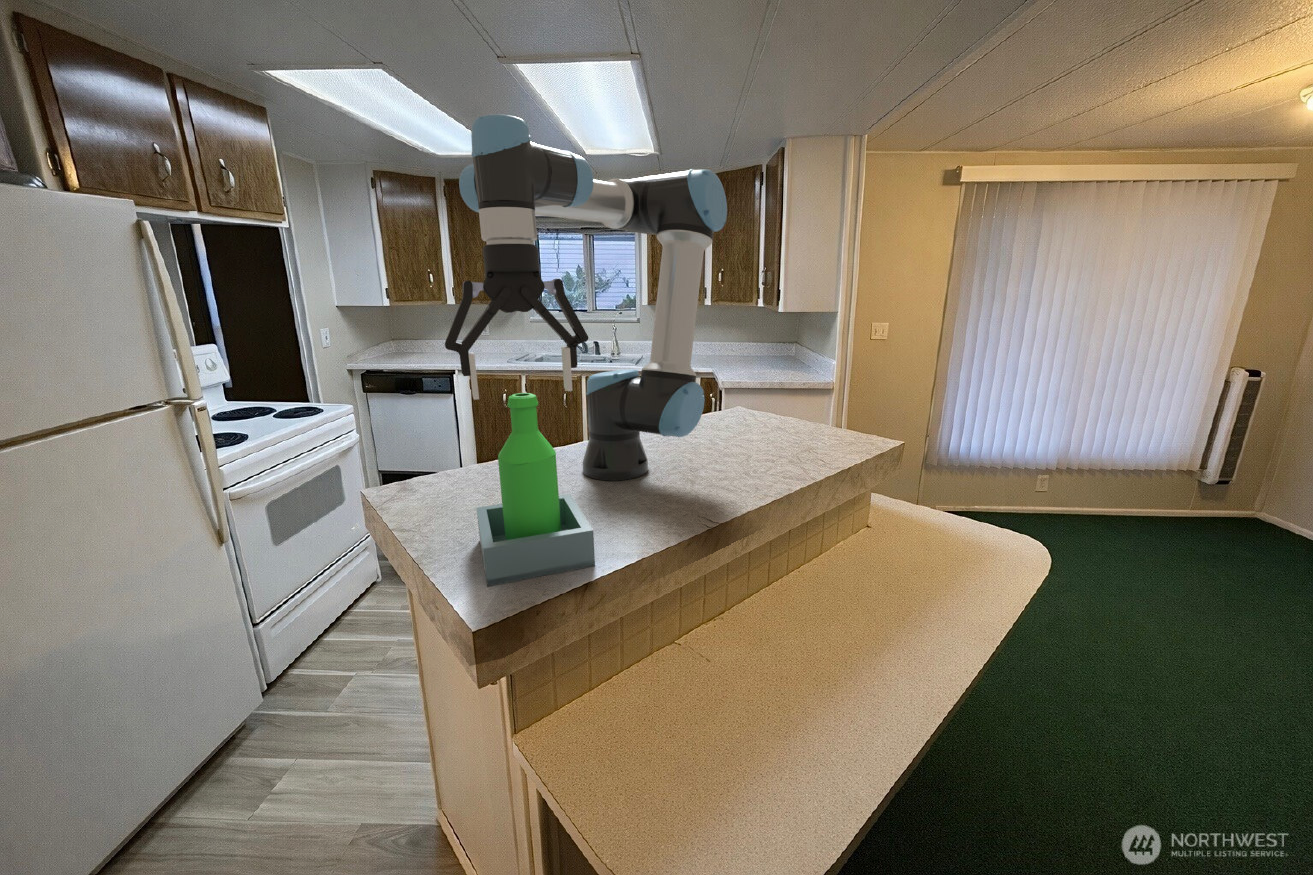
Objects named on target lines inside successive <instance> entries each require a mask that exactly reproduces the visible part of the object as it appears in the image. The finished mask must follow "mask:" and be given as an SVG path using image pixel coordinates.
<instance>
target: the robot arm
mask: <svg viewBox="0 0 1313 875" xmlns="http://www.w3.org/2000/svg"><path fill="white" fill-rule="evenodd" d="M470 131H471V135H470V136H471V157H472V164H469V165H467V166H466V167H464V168H463V170H462V171H461V172H460V175H459V180H458V184H459V185H458V186H459V188H458V189H459V194H460V196H461V198H462V200H463V202H464V203H465V205H466V206H467V207H468V208H469V209H470V210H472V211H474V212H475V213H478V215H479V216H478V217H479V226H480V236H481V240H482V241H483V242H486V245H485V244H484V245H483V247H482V256H483V266H484V267H483V268H484V276H485V277H484V281H483V282H475V281H471V280H465V281H463V282H462V298H461V300H460V303H459V305H458V307H457V310H456V313H455V315H454V318H453V321H452V323H451V326H450V328H449V331H448V334H447V336H446V338H445V341H444V347H445V349H447V350H448V351H453V352H456V353H457V354H458V355H459V360H460V362H459V363H460V368H461V370H460V371H461V373H462V376H463V377H470V383H471V394H472V398H473V400H475V401H476V400H480V395H479V394H480V393H479V392H480V391H479V384H478V377H477V376H478V374H477V367H476V358H475V357H476V356H475V353H474V351H470V350H471V348H472V347H473V345H474V344H475V343H476V341H477V340H478V338H480V336H481V335H482V333H483V332H484V330H485V329H486V328H487V326H488V325H489V324H490V322H492V320H493V318H494V317H495V316H496V315H497V313H498V312H499V311H501V312H502V313H503V312H504V313H509V314H510V313H515V312H521V313H528V312H530V311H531V310H532V309H533V311H534V312H536V314H538V315H539V317H541V319H542V320H544V322H545V323H546V324H547V325H548V326H549V327H550V328H551V329H552V330H553V331H554V332H555V334H557V336H559V338H560V339H562V341H563V342H564V343H565V344H566V345H562V346H560V349H561V362H562V363H561V364H562V365H561V366H562V377H563V378H562V379H563V389H565V391H566V392H573V378H572V377H573V376H572V369H575V368H578V351H577V350H578V349H577V348H578V346H579V345H580V344H582V343H587V341H588V340H589V335H588V334H587V332H586V330H585V328H584V326H583V325H582V323H581V320H580V319H579V318H578V315H577V314H576V311H575V310H574V308H573V306H572V304H571V302H570V301H569V299H568V297H567V295H566V292H565V287H564V281H563V280H562V279H561V278H553V279H552V280H545V281H543V280H542V277H541V271H540V257H539V247H537V245H536V244H534V242H536V241H537V240H538V232H537V221H536V216H543V217H549V218H550V217H553V218H559V219H569V220H578V221H579V220H580V221H588V222H597V223H602V224H603V225H604V226H605V227H606V228H609V229H614V230H620V231H621V230H622V231H627V232H632V233H636V234H637V233H638V234H643V235H656V239H657V241H658V242H659V243H660V245H661V246H662V250H661V259H660V268H659V276H658V283H657V284H658V287H657V295H656V304H655V314H654V322H653V330H652V332H653V333H652V338H651V339H652V340H651V348H650V349H651V350H650V357H649V362H648V363H647V364H646V365H645V366H643V367H642V368H641V374H640V373H639V370H637V369H634V368H631V369H630V368H627V369H619V370H618V369H616V370H611V371H604V372H598V373H594V374H591V375H589V377H588V379H587V380H586V392H585V396H586V408H587V409H586V410H587V424H588V442H587V446H586V448H585V452H584V456H583V459H582V472H583V474H584V475H585V476H586V477H589V478H591V479H595V480H599V481H623V480H630V479H635V478H638V477H641V476H644V475H645V474H646V473H647V472H648V470H649V460H648V457H647V454H646V452H645V449H644V445H643V442H642V439H641V435H640V432H642V433H647V434H652V435H653V434H654V435H659V436H662V437H664V438H665V437H675V438H683V437H685V436H688V435H689V434H690V433H692V432H693V431H694V430H695V428H696V427H697V425H698V423H699V422H700V420H701V418H702V414H703V411H704V408H705V407H704V406H705V401H706V400H705V395H704V393H705V390H704V389H703V387H702V386H701V385H700V384H699V383H698V382H697V373H696V371H694V369H693V368H692V366H691V362H692V357H693V356H692V355H693V347H694V346H693V345H694V338H695V329H696V320H697V312H698V305H699V304H698V303H699V296H700V288H701V287H700V286H701V277H702V270H703V269H702V268H703V263H704V261H703V260H704V253H705V250H706V249H708V248H709V247H711V245H712V244H713V239H714V232H719V231H720V230H722V229H723V228H724V226H725V225H726V222H727V218H728V205H727V204H728V202H727V196H726V193H725V190H724V186H723V184H722V181H721V180H720V178H719V176H718V175H717V174H716V173H715V172H714V171H712V170H711V169H694V168H691V169H689V170H684V171H677V172H671V173H664V174H657V175H648V176H643V177H637V178H631V179H621V178H612V179H611V178H610V179H609V180H607V181H603V180H598V179H594V172H593V170H592V167H591V164H590V163H589V162H588V161H587V160H586V159H585V157H582V156H580V155H578V154H575V153H573V152H571V151H569V150H567V149H566V150H563V149H562V150H561V149H558V148H553V147H550V146H545V145H541V144H537V143H535V142H532V136H531V134H530V130H529V124H528V123H527V122H526V121H525V120H524V119H522V118H520V117H517V116H514V115H511V114H510V115H509V114H500V113H499V114H498V113H497V114H486V115H485V114H484V115H482V116H478V117H477V118H475V119H474V120H473V122H472V124H471V130H470ZM545 290H547V291H548V294H550V295H551V296H553V297H554V299H555V300H556V301H555V302H556V303H557V304H558V306H559V308H560V310H561V312H562V314H563V316H564V317H565V319H566V321H567V322H568V324H569V326H570V328H571V329H572V331H573V333H574V335H572V334H571V333H570V332H569V331H568V330H567V329H566V328H565V327H564V326H563V325H562V324H561V323H560V322H559V321H558V319H557V318H556V317H555V316H554V315H553V314H552V313H551V312H550V311H549V310H548V309H547V307H546V306H545V305H544V304H543V303H542V302H541V300H540V297H542V296H541V295H542V294H543V293H544V291H545ZM481 291H483V292H484V294H485V295H486V296H487V297H488V298H489V299H490V302H489V303H488V305H487V307H486V308H485V309H484V311H483V313H481V315H480V316H479V318H478V319H477V320H476V322H475V323H474V325H473V326H472V327H471V329H470V330H469V331H468V333H467V334H466V335H465V337H464V338H463V340H461V342H459V341H458V338H459V335H460V334H461V330H462V328H463V326H464V323H465V320H466V317H467V316H468V312H469V310H470V307H471V305H472V301H473V298H477V297H478V296H479V293H480V292H481ZM640 375H641V376H640Z"/></svg>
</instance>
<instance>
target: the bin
mask: <svg viewBox="0 0 1313 875" xmlns="http://www.w3.org/2000/svg"><path fill="white" fill-rule="evenodd" d="M559 507H560V523H561V531H559V532H553V533H547V534H541V535H535V536H529V537H523V538H517V539H511V540H506V537H505V527H504V517H503V507H502V503H499V504H492V505H484V506H478V507H476V508H475V509H476V515H477V516H476V518H477V524H478V525H477V526H478V536H479V543H480V550H481V556H482V561H483V562H482V563H483V568H484V574H485V581H486V587H493V586H497V585H501V584H507V583H508V584H509V583H513V582H517V581H518V582H519V581H523V580H529V579H533V578H538V577H539V578H540V577H542V576H543V577H545V576H549V575H554V574H560V573H564V572H569V571H575V570H579V569H580V570H581V569H584V568H590V567H591V568H592V567H595V566H596V560H595V558H596V556H595V540H594V539H595V537H594V534H595V533H594V529H593V527H592V526H591V524H590V523H589V521H588V519H587V518H586V516H585V515H584V513H583V512H582V510H581V509H580V507H579V505H578V504H577V501H576V500H575V499H574V497H573V496H572V493H570V494H569V493H567V494H560V495H559Z"/></svg>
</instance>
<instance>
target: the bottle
mask: <svg viewBox="0 0 1313 875" xmlns="http://www.w3.org/2000/svg"><path fill="white" fill-rule="evenodd" d="M507 400H508V401H507V408H509V409H510V410H509V411H510V412H509V413H510V423H511V433H510V435H509V436H508V438H507V439H506V441H505V443H504V445H503V446H502V448H501V450H500V451H499V452H498V454H497V462H498V463H497V464H498V472H499V483H500V484H499V485H500V496H501V497H500V498H501V504H502V507H503V517H504V527H505V537H506V540H511V539H517V538H523V537H529V536H535V535H541V534H547V533H553V532H559V531H561V523H560V507H559V496H560V495H559V492H560V491H559V483H558V482H559V480H558V469H557V467H558V466H557V453H556V450H555V448H554V447H553V446H552V444H550V442H549V441H548V440H547V438H545V436H544V435H543V434H542V432H541V431H540V430H539V424H538V411H537V409H538V408H537V407H538V406H539V401H538V398H537V395H536V394H534V393H530V392H519V393H513V394H511V395H509V396H508V399H507Z"/></svg>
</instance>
